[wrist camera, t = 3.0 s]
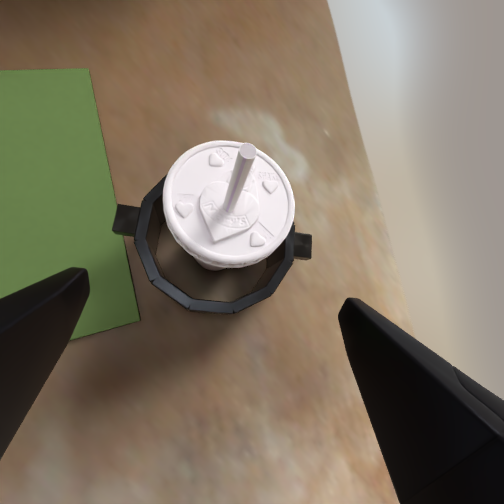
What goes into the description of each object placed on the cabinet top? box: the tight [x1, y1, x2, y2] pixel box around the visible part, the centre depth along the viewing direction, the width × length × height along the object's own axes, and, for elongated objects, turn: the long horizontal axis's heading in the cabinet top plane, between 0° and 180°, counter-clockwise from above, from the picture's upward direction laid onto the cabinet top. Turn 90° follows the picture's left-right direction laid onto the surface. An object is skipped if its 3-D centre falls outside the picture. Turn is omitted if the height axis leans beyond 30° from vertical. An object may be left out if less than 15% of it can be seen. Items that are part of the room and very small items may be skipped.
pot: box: [112, 174, 312, 314], centre depth 19 cm, size 10×13×4 cm
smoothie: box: [163, 140, 295, 271], centre depth 15 cm, size 6×6×14 cm
